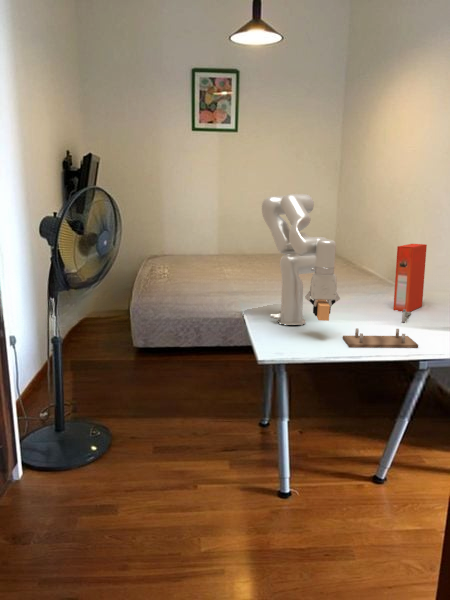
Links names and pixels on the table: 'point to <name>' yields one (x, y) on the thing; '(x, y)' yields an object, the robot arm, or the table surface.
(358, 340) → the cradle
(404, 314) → the caliper
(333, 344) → the table surface
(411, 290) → the file binder
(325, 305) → the jaw block
